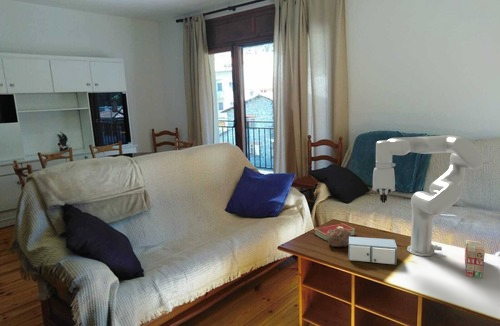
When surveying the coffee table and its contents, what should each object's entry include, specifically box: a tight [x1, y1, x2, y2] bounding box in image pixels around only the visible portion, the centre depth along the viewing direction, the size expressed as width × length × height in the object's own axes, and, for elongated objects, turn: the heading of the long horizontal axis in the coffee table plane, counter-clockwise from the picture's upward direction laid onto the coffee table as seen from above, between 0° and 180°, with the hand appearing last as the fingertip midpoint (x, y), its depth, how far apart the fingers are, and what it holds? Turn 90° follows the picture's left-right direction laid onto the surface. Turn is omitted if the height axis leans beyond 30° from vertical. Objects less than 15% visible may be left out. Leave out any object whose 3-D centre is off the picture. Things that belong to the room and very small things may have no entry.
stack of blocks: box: [464, 239, 486, 279], centre depth 160 cm, size 21×6×12 cm, turn 150°
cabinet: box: [348, 236, 398, 265], centre depth 172 cm, size 22×12×8 cm, turn 75°
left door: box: [371, 247, 398, 266], centre depth 166 cm, size 11×2×8 cm, turn 75°
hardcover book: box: [313, 223, 356, 242], centre depth 207 cm, size 12×21×4 cm, turn 114°
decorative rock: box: [327, 228, 353, 248], centre depth 190 cm, size 13×11×10 cm
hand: (383, 201), depth 173 cm, fingers closed
